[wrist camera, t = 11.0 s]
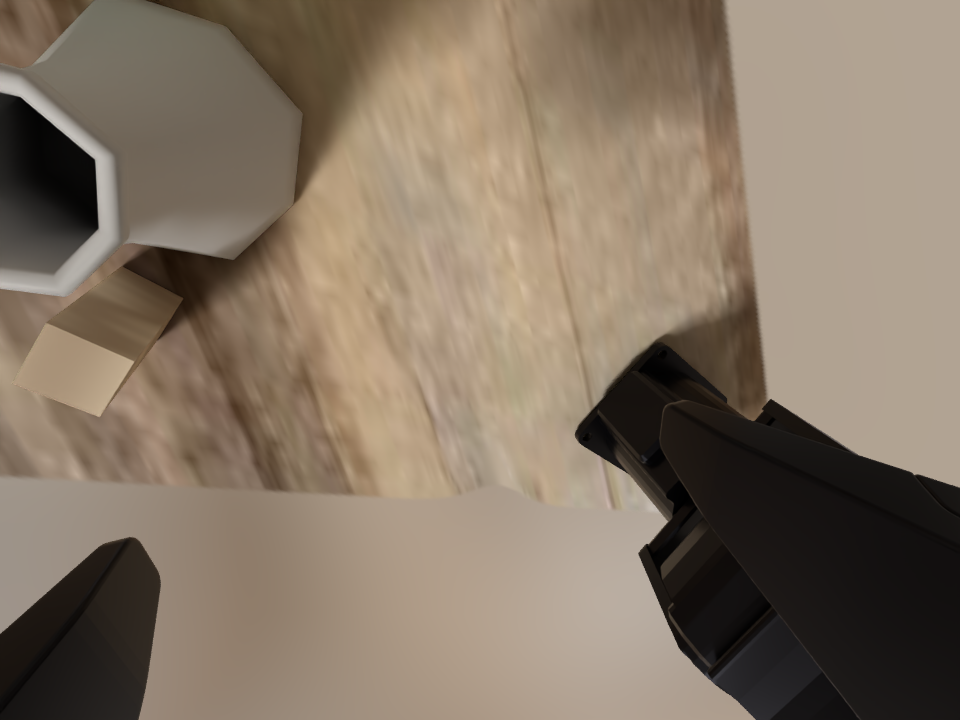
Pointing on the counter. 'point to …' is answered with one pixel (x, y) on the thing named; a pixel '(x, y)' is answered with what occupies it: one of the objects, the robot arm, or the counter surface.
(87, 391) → the door frame
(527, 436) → the counter surface
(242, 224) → the flask
